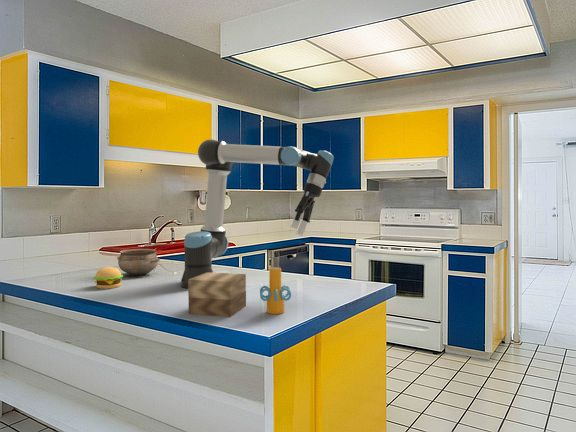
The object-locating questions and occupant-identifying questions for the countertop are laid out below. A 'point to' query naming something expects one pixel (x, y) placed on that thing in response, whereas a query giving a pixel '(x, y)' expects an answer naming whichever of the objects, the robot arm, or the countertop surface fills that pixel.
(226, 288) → the tower top
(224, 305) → the tower base
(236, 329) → the countertop surface
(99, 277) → the hamburger
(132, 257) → the cooking pot
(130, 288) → the countertop surface
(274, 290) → the orange tall piece
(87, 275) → the countertop surface
